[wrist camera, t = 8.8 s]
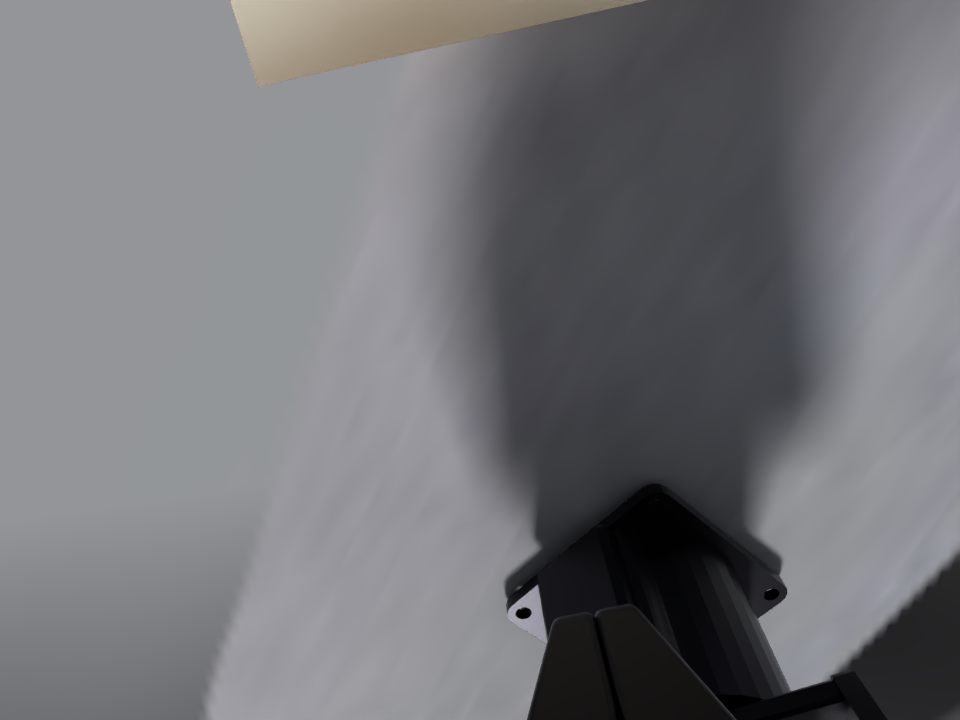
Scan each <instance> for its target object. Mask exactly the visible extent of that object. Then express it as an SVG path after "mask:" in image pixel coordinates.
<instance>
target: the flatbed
mask: <svg viewBox="0 0 960 720" xmlns="http://www.w3.org/2000/svg"><path fill="white" fill-rule="evenodd" d="M230 1H231V4H232V8H233V11H234V14H235V17H236V20H237V23H238V26H239V29H240V32H241V35H242V38H243V42H244V45H245V48H246V51H247V54H248V57H249V60H250V63H251V66H252V69H253V72H254V75H255V79H256V82H257V85H258V87H260V86H263V85H268V84H273V83H277V82H282V81H286V80H291V79H295V78H300V77H305V76H309V75H314V74H318V73H322V72H327V71H332V70H336V69H341V68H345V67H349V66H354V65H359V64H363V63H367V62H372V61H376V60H381V59H385V58H390V57H395V56H399V55H404V54H408V53H413V52H417V51H422V50H426V49H431V48H435V47H440V46H444V45H449V44H453V43H458V42H462V41H467V40H471V39H476V38H480V37H485V36H489V35H494V34H498V33H503V32H507V31H512V30H516V29H521V28H525V27H530V26H534V25H539V24H543V23H548V22H552V21H557V20H561V19H566V18H570V17H575V16H579V15H584V14H588V13H593V12H597V11H602V10H606V9H611V8H615V7H620V6H624V5H629V4H633V3H638V2H642V1H647V0H230Z"/></svg>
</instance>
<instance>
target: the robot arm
mask: <svg viewBox="0 0 960 720" xmlns="http://www.w3.org/2000/svg"><path fill="white" fill-rule="evenodd" d="M654 499H660V501H659V502H657V503H655V504H649V502H650V501H652V500H654ZM769 589H771V590H769ZM767 590H769V591H767ZM786 595H787V588H786V586H785V584H784V583H783V581H782V579H781V578H780V576H778V575H777V574H776V573H775V572H773V571H772V570H771V569H770V568H768V567H767V566H766V565H765V564H763V563H762V562H761V561H759V560H758V559H757V558H756V557H754V556H753V555H752V554H751V553H749V552H748V551H747V550H745V549H744V548H743V547H742V546H740V545H739V544H738V543H737V542H735V541H734V540H733V539H731V538H730V537H729V536H728V535H726V534H725V533H724V532H723V531H721V530H720V529H719V528H717V527H716V526H715V525H714V524H712V523H711V522H710V521H709V520H707V519H706V518H705V517H704V516H702V515H701V514H700V513H698V512H697V511H696V510H695V509H693V508H692V507H691V506H690V505H688V504H687V503H686V502H684V501H683V500H682V499H681V498H679V497H678V496H677V495H676V494H674V493H673V492H672V491H670V490H669V489H668V488H667V487H665V486H663V485H661V484H650V485H647V486H645V487H643V488H641V489H640V490H639V491H638V492H637V493H635V494H634V495H633V496H632V497H631V498H629V499H628V500H627V501H626V502H624V503H623V504H622V505H621V506H620V507H618V508H617V509H616V510H615V511H614V512H612V513H611V514H610V515H609V516H608V517H606V518H605V519H604V520H603V521H601V522H600V523H599V524H598V525H597V526H595V527H594V528H593V529H591V530H590V531H589V532H588V533H587V534H585V535H584V536H583V537H582V538H580V539H579V540H578V541H577V542H576V543H574V544H573V545H572V546H571V547H570V548H568V549H567V550H566V551H565V552H563V553H562V554H561V555H560V556H559V557H557V558H556V559H555V560H554V561H553V562H551V563H550V564H549V565H548V566H546V567H545V568H544V569H543V570H542V571H540V572H539V573H538V574H537V575H536V576H535V577H533V578H532V579H531V580H530V581H529V582H527V583H526V584H525V585H524V586H523V587H521V588H520V589H519V590H518V591H516V592H515V593H514V594H513V595H512V596H511V597H510V598H509V599H508V600H507V604H506V606H507V615H508V618H509V619H510V620H511V621H512V622H513V623H514V624H516V625H518V626H519V627H521V628H522V629H524V630H526V631H527V632H529V633H530V634H532V635H534V636H535V637H537V638H538V639H540V640H542V641H543V642H545V643H546V644H547V645H546V649H545V653H544V656H543V660H542V664H541V668H540V672H539V676H538V679H537V683H536V687H535V691H534V695H533V699H532V702H531V706H530V710H529V714H528V718H527V720H887V718H886V717H885V715H884V714H883V713H882V711H881V710H880V708H879V707H878V705H877V704H876V702H875V701H874V700H873V698H872V697H871V695H870V694H869V692H868V691H867V690H866V688H865V686H864V685H863V683H862V682H861V681H860V679H859V678H858V676H857V675H856V673H855V672H854V670H853V669H852V670H848V671H845V672H842V673H838V674H835V675H831V680H828V681H825V682H822V683H818V684H815V685H811V686H808V687H805V688H801V689H798V690H794V691H791V690H790V688H789V686H788V684H787V682H786V679H785V677H784V675H783V673H782V671H781V669H780V666H779V664H778V662H777V660H776V658H775V656H774V653H773V651H772V649H771V647H770V645H769V643H768V640H767V638H766V636H765V634H764V632H763V630H762V627H761V625H760V623H759V621H758V618H759V617H760V616H762V615H763V614H765V613H766V612H768V611H769V610H770V609H772V608H773V607H775V606H776V605H777V604H779V603H780V602H781V601H782V600H783V599H785V597H786ZM522 607H526V609H521V610H520V609H519V608H522Z"/></svg>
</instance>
